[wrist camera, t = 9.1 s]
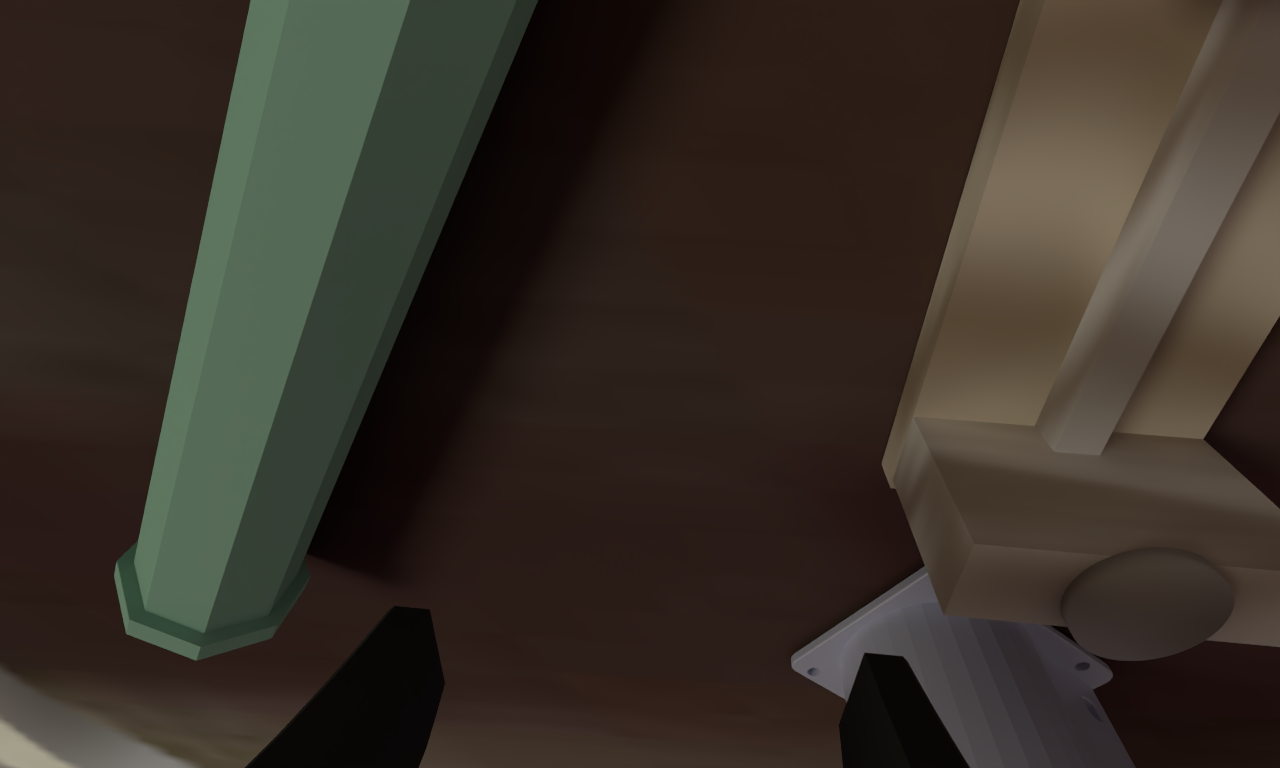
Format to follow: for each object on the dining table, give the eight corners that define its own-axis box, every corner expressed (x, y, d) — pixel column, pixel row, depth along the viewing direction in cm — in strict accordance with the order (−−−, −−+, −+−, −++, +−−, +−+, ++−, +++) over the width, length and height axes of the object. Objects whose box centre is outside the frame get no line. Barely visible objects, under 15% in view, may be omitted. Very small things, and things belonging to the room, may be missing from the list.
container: (258, -417, 8) (82, 659, 20) (657, -111, 11) (295, 661, 23) (311, -341, 12) (140, 507, 24) (587, -136, 15) (312, 526, 27)
